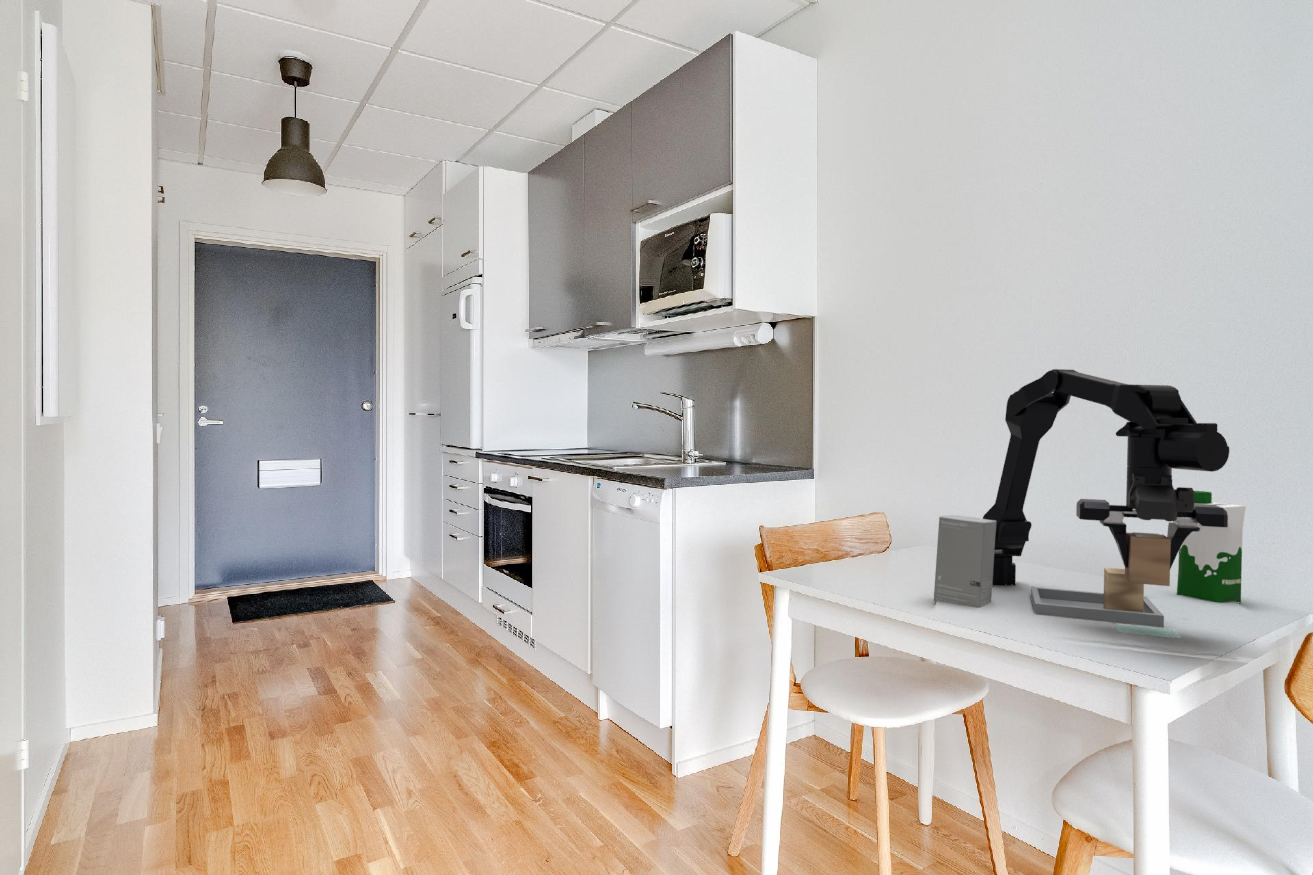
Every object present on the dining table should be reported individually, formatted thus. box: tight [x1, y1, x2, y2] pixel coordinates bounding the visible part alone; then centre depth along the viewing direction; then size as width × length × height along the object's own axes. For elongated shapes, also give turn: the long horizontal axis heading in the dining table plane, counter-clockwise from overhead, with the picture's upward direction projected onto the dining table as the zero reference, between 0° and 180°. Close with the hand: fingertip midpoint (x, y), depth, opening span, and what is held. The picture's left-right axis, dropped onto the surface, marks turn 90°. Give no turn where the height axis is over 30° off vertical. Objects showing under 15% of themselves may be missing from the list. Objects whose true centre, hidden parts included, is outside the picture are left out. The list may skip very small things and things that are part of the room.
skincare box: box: [933, 514, 997, 609], centre depth 132 cm, size 8×7×16 cm
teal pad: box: [1112, 623, 1182, 640], centre depth 113 cm, size 8×5×1 cm, turn 66°
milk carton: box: [1176, 490, 1247, 604], centre depth 136 cm, size 9×9×20 cm
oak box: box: [1103, 567, 1145, 612], centre depth 124 cm, size 5×5×7 cm
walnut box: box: [1124, 531, 1171, 587], centre depth 113 cm, size 5×5×7 cm
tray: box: [1030, 586, 1165, 628], centre depth 126 cm, size 18×14×2 cm
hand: (1146, 568), depth 113 cm, fingers closed on walnut box, 5 cm apart
